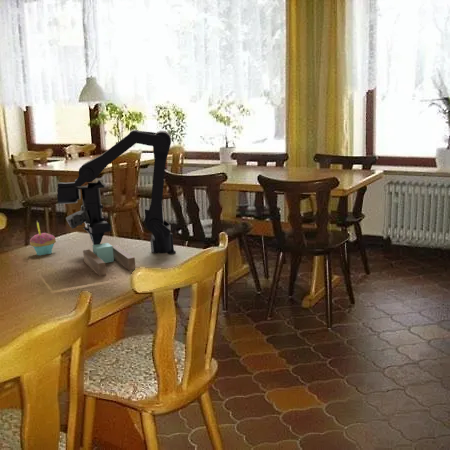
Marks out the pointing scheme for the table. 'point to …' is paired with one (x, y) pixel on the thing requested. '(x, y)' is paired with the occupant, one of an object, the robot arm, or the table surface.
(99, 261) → the chute
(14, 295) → the table surface
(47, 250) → the cupcake
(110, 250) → the teal block
